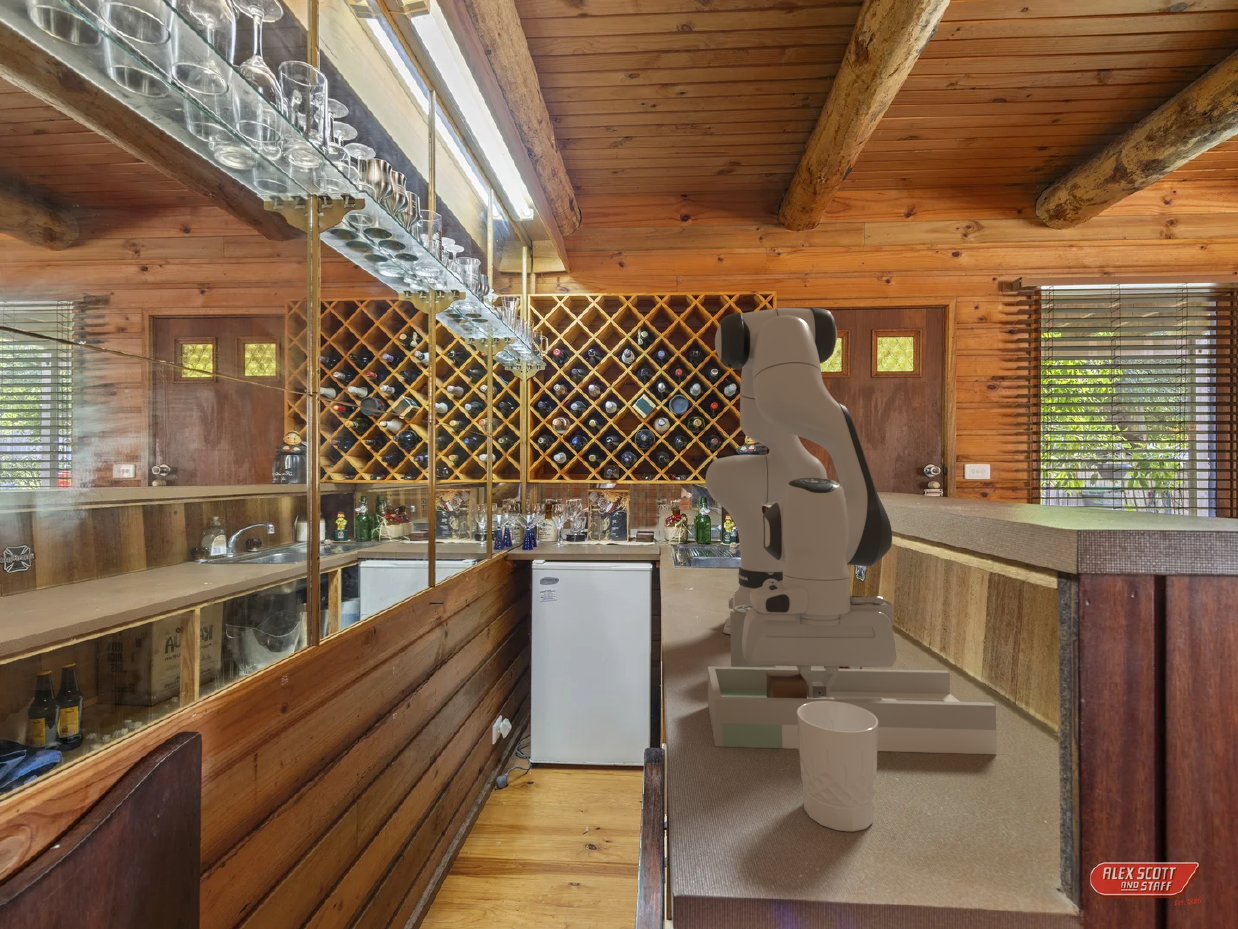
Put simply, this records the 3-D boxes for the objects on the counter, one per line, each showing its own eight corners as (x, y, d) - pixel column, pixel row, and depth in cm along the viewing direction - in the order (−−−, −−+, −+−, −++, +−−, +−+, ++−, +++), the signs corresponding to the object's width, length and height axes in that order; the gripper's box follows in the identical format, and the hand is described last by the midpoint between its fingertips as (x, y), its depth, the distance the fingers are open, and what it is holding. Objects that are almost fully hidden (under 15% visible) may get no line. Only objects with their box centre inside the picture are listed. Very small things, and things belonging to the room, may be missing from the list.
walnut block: (766, 699, 83) (766, 670, 83) (798, 699, 83) (798, 671, 83) (773, 712, 79) (772, 682, 79) (807, 712, 79) (806, 682, 79)
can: (764, 689, 95) (763, 614, 96) (723, 679, 100) (722, 608, 100) (782, 676, 101) (781, 606, 102) (742, 667, 106) (741, 601, 106)
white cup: (828, 842, 56) (826, 736, 56) (783, 798, 63) (782, 705, 64) (897, 828, 58) (896, 726, 58) (846, 787, 65) (845, 697, 66)
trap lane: (708, 706, 88) (707, 666, 89) (947, 712, 86) (946, 670, 86) (715, 746, 76) (714, 699, 76) (996, 754, 73) (995, 705, 73)
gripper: (885, 591, 83) (887, 689, 83) (739, 591, 85) (740, 687, 85) (903, 601, 77) (905, 707, 77) (745, 600, 79) (747, 704, 78)
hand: (817, 697), depth 81 cm, fingers closed
